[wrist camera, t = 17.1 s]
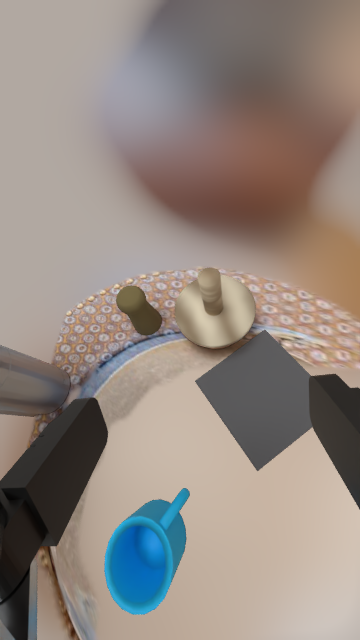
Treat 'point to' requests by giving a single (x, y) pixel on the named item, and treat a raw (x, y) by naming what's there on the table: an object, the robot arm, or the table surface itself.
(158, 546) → the mug
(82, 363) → the table surface
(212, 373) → the mat
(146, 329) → the olive pawn
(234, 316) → the lid
